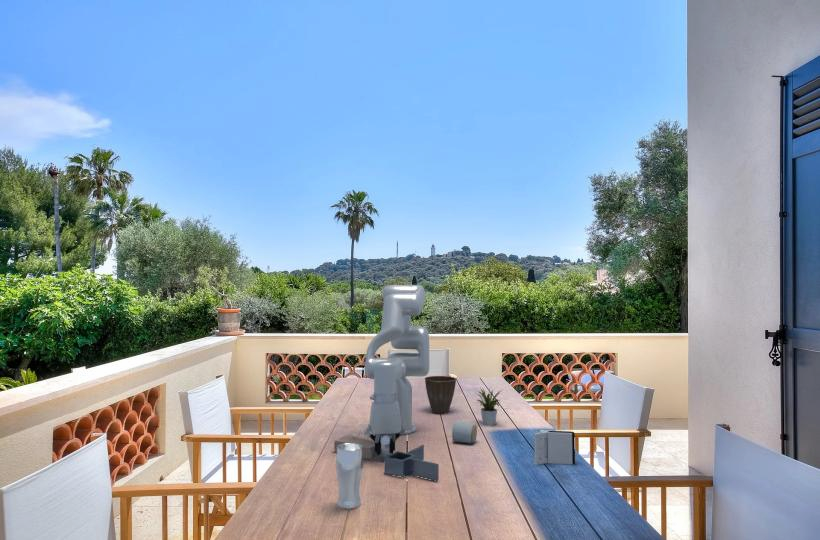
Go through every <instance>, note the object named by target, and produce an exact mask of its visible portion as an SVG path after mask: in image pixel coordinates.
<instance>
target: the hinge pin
mask: <svg viewBox="0 0 820 540" xmlns="http://www.w3.org/2000/svg"><path fill="white" fill-rule="evenodd" d="M379 443H380V455H379V457H378V461H379V462H381V463H382V462H383V463H385V457H386V456H388V455H390V454H391V434H380V435H379Z"/></svg>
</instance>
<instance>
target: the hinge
mask: <svg viewBox="0 0 820 540" xmlns="http://www.w3.org/2000/svg"><path fill="white" fill-rule="evenodd" d="M575 440H576V435H575V431H572V430H559V429H558V430H555V429H547V430H546V429H540V430H539V432H536V433H535V432H534V434H533V441H534V442H533V443H534V445H533V447H534V451H533V454H534V465H535V466H538V465H543V464H551V465H552V464H553V465H554V464H556V465H568V466H569V465H576V452H575V451H576V441H575Z"/></svg>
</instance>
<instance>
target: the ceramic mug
mask: <svg viewBox="0 0 820 540" xmlns="http://www.w3.org/2000/svg"><path fill="white" fill-rule="evenodd" d="M451 431H452V432H451V437H452V442H454V443H461V444H471V445H472V444H474V443H475V442H476V440H477V436H478V428H477V425H476V424H474V423H470V422H465V421H460V420H455V421H454V423H453V425H452V430H451Z"/></svg>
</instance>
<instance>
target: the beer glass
mask: <svg viewBox="0 0 820 540" xmlns="http://www.w3.org/2000/svg"><path fill="white" fill-rule="evenodd" d="M363 459H364V458H363V456H362V445H360V444H357V443H345V444H341V445H339V446H338V447H337V452H336V458H335V465H336V475H337V482H338V499H337V506H339V507H338V508H340V507H341V508H340V509H342V508H346V509H345V510H352V509H351V508H354V509H357V508H359V507H360V506H361V496H360V486H361V480H362V476H363V475H362V474H363V473H362V472H363V467H364V466H363V464H364V463H363ZM358 506H359V507H358ZM356 507H357V508H356Z"/></svg>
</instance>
